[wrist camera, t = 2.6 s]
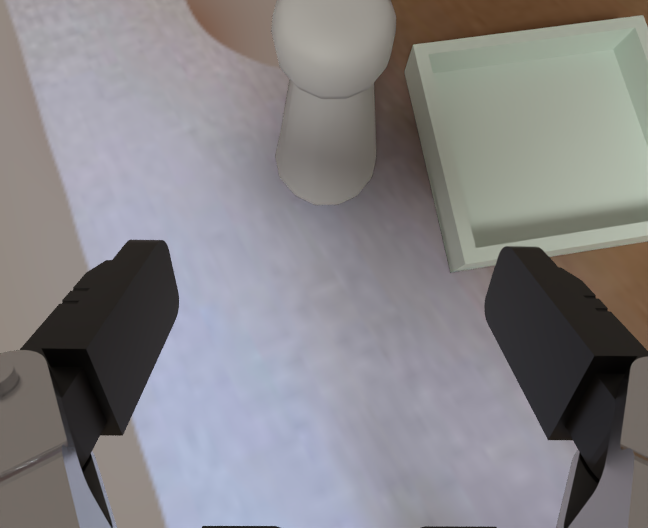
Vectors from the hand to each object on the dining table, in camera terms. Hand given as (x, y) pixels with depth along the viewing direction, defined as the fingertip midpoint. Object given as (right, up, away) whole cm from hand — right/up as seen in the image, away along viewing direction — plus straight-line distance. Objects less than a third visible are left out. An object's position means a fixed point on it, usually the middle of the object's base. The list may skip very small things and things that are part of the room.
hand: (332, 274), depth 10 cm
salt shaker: (0, +6, +16) cm, 17 cm away
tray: (+14, +8, +16) cm, 23 cm away
